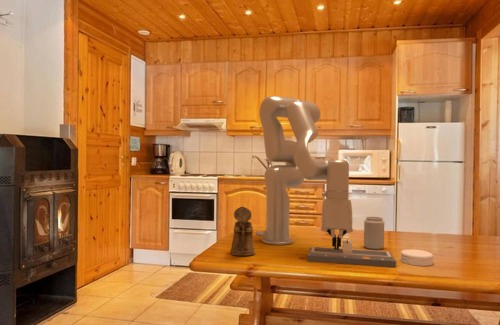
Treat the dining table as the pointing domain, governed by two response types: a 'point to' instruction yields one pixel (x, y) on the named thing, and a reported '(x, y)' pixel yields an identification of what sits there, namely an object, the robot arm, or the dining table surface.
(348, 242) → the cap
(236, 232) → the brown bell figurine
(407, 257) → the white cheese wheel
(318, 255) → the dark grey tray
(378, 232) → the can
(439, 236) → the dining table surface
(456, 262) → the dining table surface
